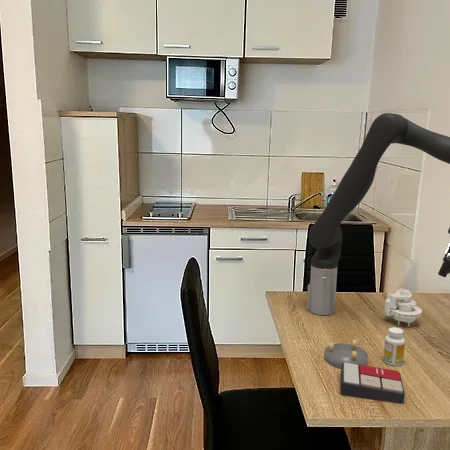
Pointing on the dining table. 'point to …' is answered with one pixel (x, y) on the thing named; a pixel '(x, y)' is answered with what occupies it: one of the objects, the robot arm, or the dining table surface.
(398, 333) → the supplement bottle
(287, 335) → the dining table surface
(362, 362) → the pin base
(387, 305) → the mechanical part
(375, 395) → the calculator
